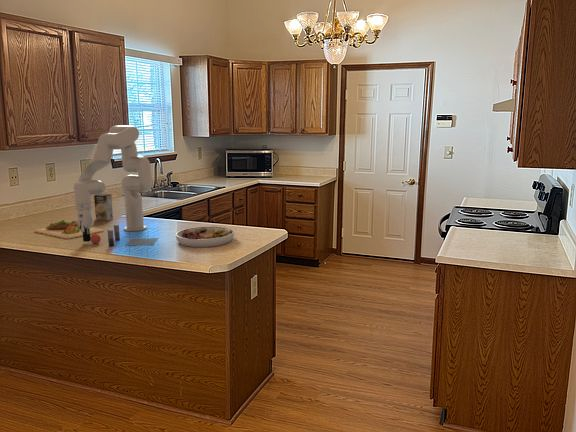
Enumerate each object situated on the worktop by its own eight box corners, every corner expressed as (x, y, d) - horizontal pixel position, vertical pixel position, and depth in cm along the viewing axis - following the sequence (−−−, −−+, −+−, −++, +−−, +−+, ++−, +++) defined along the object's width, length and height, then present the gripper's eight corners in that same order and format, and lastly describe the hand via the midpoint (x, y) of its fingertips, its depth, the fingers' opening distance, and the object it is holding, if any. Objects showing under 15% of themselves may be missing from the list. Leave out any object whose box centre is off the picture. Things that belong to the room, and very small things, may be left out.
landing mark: (131, 239, 264) (131, 238, 264) (157, 238, 266) (157, 238, 265) (125, 245, 251) (125, 245, 251) (153, 245, 252) (153, 244, 252)
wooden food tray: (105, 232, 284) (104, 219, 282) (68, 241, 265) (66, 227, 264) (70, 225, 303) (69, 213, 302) (32, 233, 284) (31, 220, 283)
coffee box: (95, 220, 316) (93, 195, 312) (101, 218, 322) (99, 193, 319) (107, 220, 313) (105, 195, 310) (113, 218, 319) (111, 194, 316)
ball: (96, 231, 257) (104, 237, 258) (90, 237, 258) (98, 244, 258) (92, 233, 252) (100, 239, 253) (86, 240, 253) (94, 246, 254)
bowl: (196, 233, 278) (195, 219, 277) (244, 237, 267) (243, 223, 266) (164, 246, 251) (163, 231, 249) (216, 251, 240) (215, 235, 238)
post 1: (109, 245, 252) (108, 229, 251) (114, 245, 252) (113, 229, 251) (108, 246, 250) (106, 231, 248) (113, 246, 250) (112, 230, 248)
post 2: (115, 239, 264) (114, 224, 262) (120, 239, 264) (119, 224, 263) (114, 240, 261) (113, 225, 260) (119, 240, 262) (118, 225, 260)
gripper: (86, 208, 245) (89, 244, 249) (95, 203, 259) (98, 237, 263) (70, 209, 244) (74, 245, 248) (81, 203, 259) (84, 237, 263)
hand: (87, 241), depth 256 cm, fingers closed
